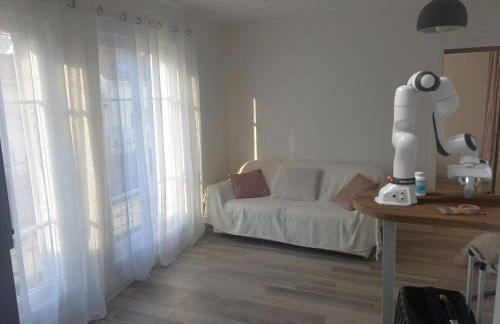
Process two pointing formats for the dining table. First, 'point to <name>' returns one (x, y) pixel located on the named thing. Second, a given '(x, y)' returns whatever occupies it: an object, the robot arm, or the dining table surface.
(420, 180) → the pill bottle
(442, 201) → the dining table surface
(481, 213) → the gauge board
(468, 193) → the steel peg
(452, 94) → the robot arm
